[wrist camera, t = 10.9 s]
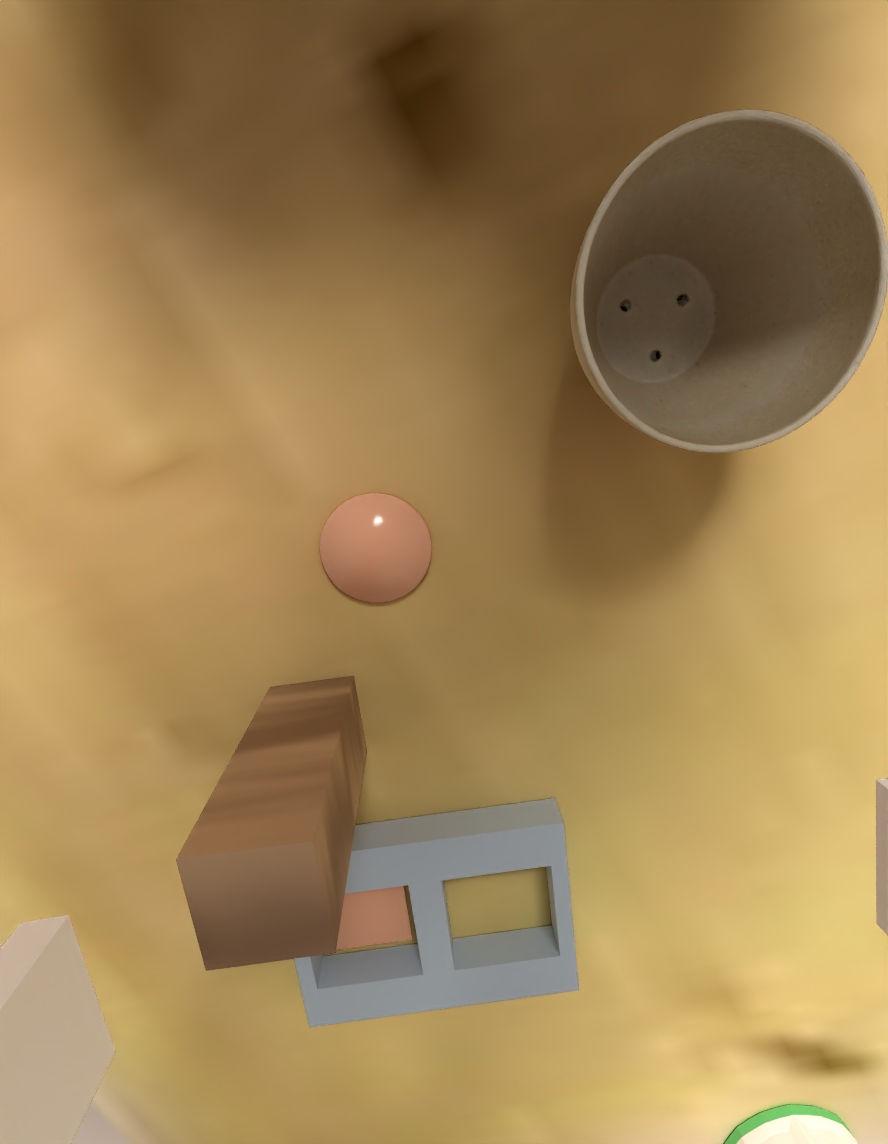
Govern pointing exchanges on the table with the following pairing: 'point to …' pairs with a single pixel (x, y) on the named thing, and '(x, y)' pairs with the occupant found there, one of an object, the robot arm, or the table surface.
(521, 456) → the table surface
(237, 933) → the peg
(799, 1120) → the cup
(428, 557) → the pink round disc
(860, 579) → the table surface
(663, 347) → the flower pot
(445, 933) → the grey window frame
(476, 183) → the table surface
